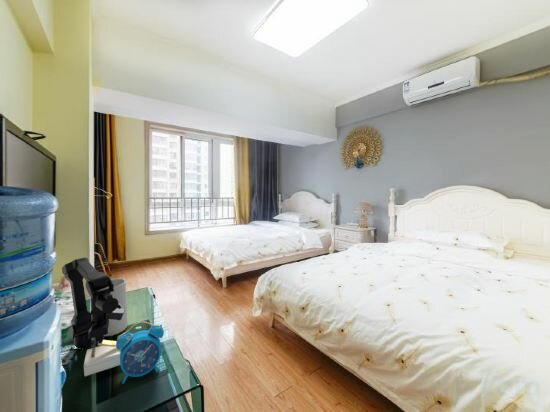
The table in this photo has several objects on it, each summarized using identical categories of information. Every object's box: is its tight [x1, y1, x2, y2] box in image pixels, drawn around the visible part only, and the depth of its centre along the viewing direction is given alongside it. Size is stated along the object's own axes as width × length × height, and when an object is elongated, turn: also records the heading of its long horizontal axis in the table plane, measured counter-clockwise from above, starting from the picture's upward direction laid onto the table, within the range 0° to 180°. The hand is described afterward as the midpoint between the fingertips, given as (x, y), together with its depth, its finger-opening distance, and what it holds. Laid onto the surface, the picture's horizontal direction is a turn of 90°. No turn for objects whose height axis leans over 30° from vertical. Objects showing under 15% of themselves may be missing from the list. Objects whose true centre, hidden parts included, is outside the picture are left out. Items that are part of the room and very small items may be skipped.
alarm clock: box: [116, 320, 165, 385], centre depth 96 cm, size 17×10×20 cm, turn 120°
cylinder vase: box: [101, 278, 128, 337], centre depth 125 cm, size 12×12×25 cm
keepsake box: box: [83, 345, 121, 377], centre depth 102 cm, size 15×10×7 cm
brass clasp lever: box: [97, 339, 117, 347], centre depth 103 cm, size 10×3×1 cm, turn 124°
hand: (101, 341), depth 101 cm, fingers closed, pressing on brass clasp lever
